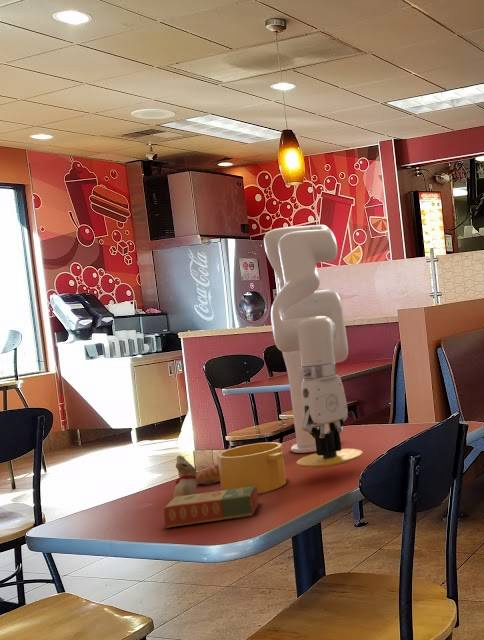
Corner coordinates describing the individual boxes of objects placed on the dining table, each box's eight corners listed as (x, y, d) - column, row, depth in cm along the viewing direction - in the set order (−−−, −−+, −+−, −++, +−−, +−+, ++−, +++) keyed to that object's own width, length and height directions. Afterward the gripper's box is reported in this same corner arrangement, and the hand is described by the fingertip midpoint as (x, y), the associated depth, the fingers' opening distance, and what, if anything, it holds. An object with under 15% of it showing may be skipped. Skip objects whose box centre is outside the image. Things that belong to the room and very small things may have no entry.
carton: (177, 516, 148) (174, 495, 148) (259, 504, 151) (257, 483, 150) (165, 529, 140) (162, 506, 140) (253, 516, 142) (250, 494, 142)
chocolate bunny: (209, 494, 164) (203, 449, 163) (181, 505, 157) (175, 458, 156) (190, 494, 166) (185, 449, 166) (162, 505, 159) (156, 459, 159)
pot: (250, 476, 176) (246, 441, 176) (307, 480, 166) (302, 443, 166) (201, 494, 165) (196, 456, 165) (258, 499, 155) (253, 459, 154)
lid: (330, 452, 179) (327, 425, 178) (376, 454, 171) (372, 425, 170) (283, 468, 166) (280, 439, 166) (330, 471, 158) (326, 440, 158)
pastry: (201, 487, 171) (199, 471, 171) (192, 483, 176) (190, 467, 176) (241, 477, 177) (239, 461, 177) (231, 474, 182) (229, 458, 182)
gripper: (304, 377, 159) (314, 462, 160) (356, 366, 173) (366, 444, 173) (280, 378, 163) (290, 461, 164) (333, 367, 177) (342, 444, 177)
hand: (329, 452), depth 168 cm, fingers closed on lid, 3 cm apart
